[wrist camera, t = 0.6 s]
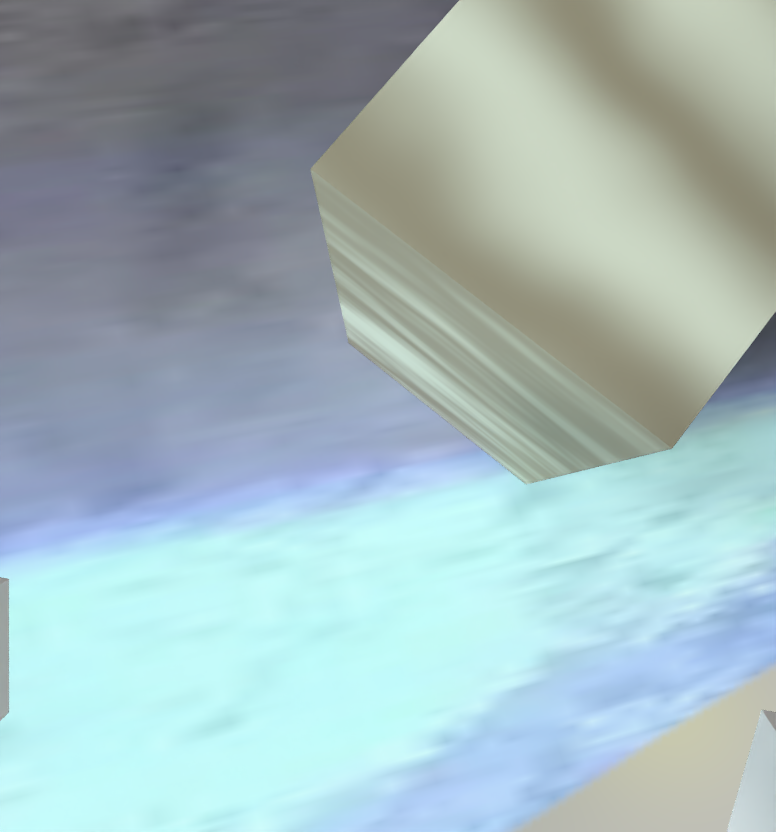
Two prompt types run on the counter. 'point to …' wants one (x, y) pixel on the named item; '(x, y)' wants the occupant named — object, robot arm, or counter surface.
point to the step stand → (563, 221)
